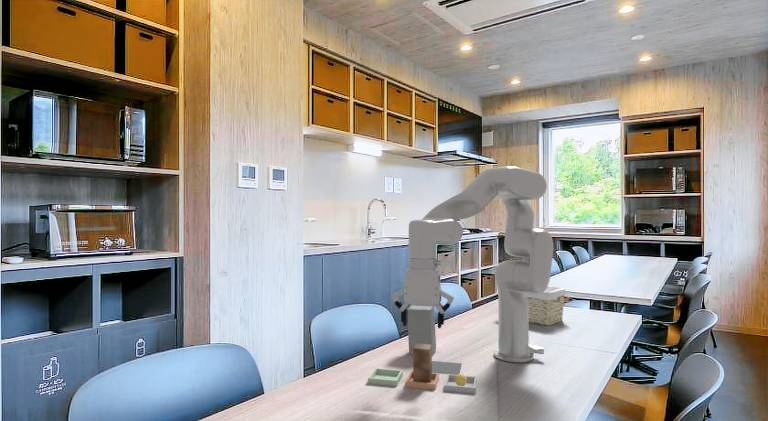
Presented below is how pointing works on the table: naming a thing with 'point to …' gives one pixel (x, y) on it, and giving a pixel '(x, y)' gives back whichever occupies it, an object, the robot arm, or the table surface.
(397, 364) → the table surface
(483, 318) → the table surface
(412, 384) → the terracotta tub
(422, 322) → the skincare box
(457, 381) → the mustard ball
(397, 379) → the sage tub
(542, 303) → the storage basket
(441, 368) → the rubber mat
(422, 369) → the walnut block
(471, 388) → the grey tub
